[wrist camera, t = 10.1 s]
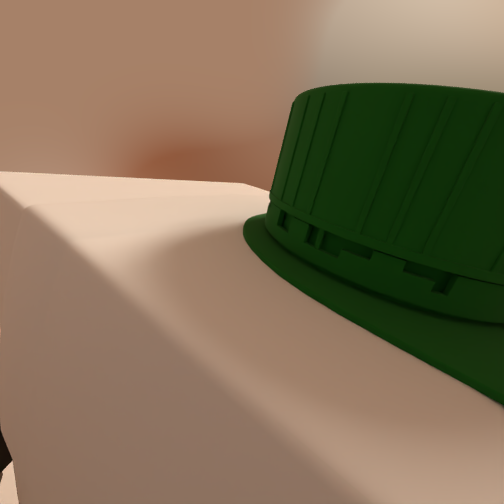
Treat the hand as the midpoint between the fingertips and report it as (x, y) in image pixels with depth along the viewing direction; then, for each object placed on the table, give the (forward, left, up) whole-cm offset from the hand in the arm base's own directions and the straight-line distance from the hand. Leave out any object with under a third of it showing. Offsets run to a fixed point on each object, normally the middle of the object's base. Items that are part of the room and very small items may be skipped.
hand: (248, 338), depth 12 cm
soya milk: (+4, +2, -11) cm, 12 cm away
